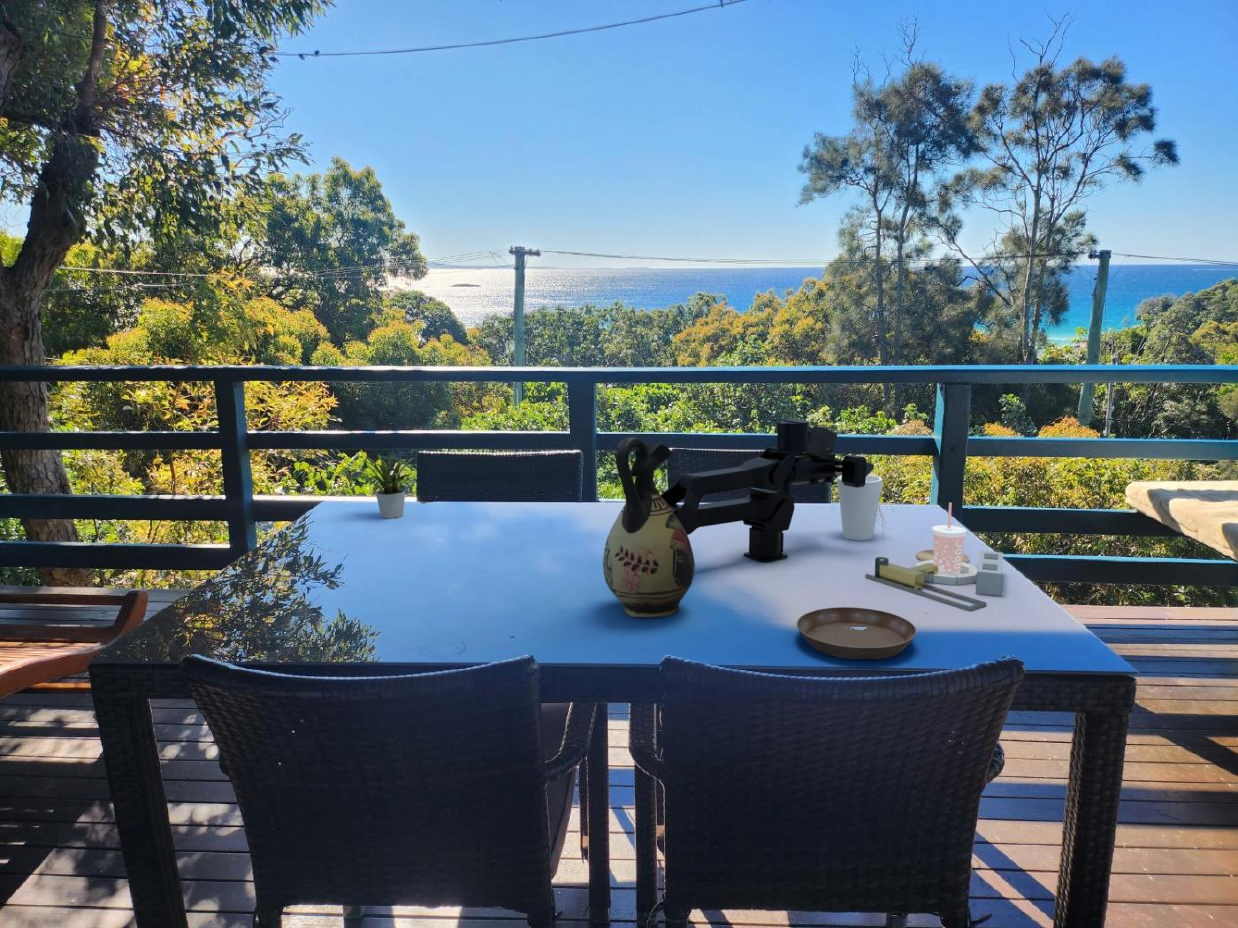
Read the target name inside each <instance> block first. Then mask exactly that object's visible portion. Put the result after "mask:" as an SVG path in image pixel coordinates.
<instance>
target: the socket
mask: <svg viewBox="0 0 1238 928" xmlns="http://www.w3.org/2000/svg"><path fill="white" fill-rule="evenodd" d="M979 551H980V552H979V555H978V556H979V557H978V563H977V566H975V565H972V564H969V563H964V562H961V569H960V574H957V575H951V574H941V573H937V574H931V573H928V572H925V573H924V581H926V582H928V583H933V584H940V585H941V584H942V585H951V586H956V585H958V586H962V585H963V586H964V585H968V584H969V585H970V584H974V583H976V585H975V594H979V595H988V596H998V597H1001V592H1002V591H1001V590H1002V580H1003V579H1002V577H1003V562H1004V560H1003V559H1004V552H1000V551H998V552H995V551H988V550H979ZM927 563H931V564H934V560H927V561H920V560H919V561H918V562H917V563H916V565H915V566H919V565H923V564H927Z"/></svg>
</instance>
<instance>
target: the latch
mask: <svg viewBox="0 0 1238 928" xmlns="http://www.w3.org/2000/svg"><path fill="white" fill-rule="evenodd" d="M925 572H928V573H931V574H937V573H938V565H935V564H931V563H927V564H923V565H919V566H916V565H915V566H913V567H904V566H901V565H899V564H895V563H892V562H889V558H888V557H885V556H877V557H875V560H874V576H876V577H879V578H882V579H885V580H889V581H892V582H895V583H898V584H901V585H904V586H908V587H911V588H914V589H917V590H919V589H921V588H923V587H924V584H925V583H924V582H925V580H924V573H925Z"/></svg>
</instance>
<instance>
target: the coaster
mask: <svg viewBox="0 0 1238 928" xmlns="http://www.w3.org/2000/svg"><path fill="white" fill-rule="evenodd" d="M915 556H916V557H915V558H916V559H917V560H918V561H919V562H920V561H927V560H934V551H933V549H923V550H920V551H917V552H916V554H915ZM961 562H964V563H967V564H969V562H970V557H969V556H968V555H967V554H965V553H962V561H961Z"/></svg>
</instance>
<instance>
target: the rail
mask: <svg viewBox="0 0 1238 928" xmlns="http://www.w3.org/2000/svg"><path fill="white" fill-rule="evenodd" d="M864 578H866V579H868V580H872V581H875V582H878V583H882V584H884V585H887V586H891V587H894V588H897V589H898V590H899V589H901V590H902V591H906V592H908V593H909V592H910V593H913V594H916V595H919V596H922V597H925V598H927V599H931V600H934V601H937V602H941V603H943V604H947V605H950V606H953V607H957V608H959V609H962V610H965V611H968V612H971V611H974V610H979V609H981V608H984V607H986V606H987V602H986V601H983V600H980V599H977V598H972V597H971V596H970V597H969V596H966V595H965V594H964V595H963V594H960V593H958V592H957V593H956V592H953V591H949V590H947V589H943V588H940V587H937V586H934V585H932V584H929V583H928V584H927V583H924V587H922V588H924V589H927V590H930V591H932V592H936V593H940V594H941V595H942V594H943V595H945V596H949V597H953V598H956V599H959V600H962V601H964V602H968V603H971V604H972V605H967V604H964V603H961V602H957V601H955V600H951V599H948V598H945V597H942V596H938V595H936V594H932V593H929V592H926V591H922V590H920V589H914V588H911V587H908V586H904V585H901V584H898V583H895V582H892V581H889V580H885V579H882V578H879V577H876V576H875V575H872V574H869V573H866V574H865V575H864Z"/></svg>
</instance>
